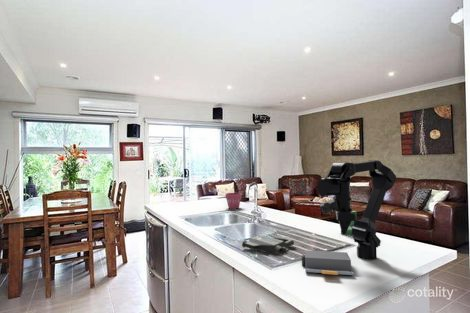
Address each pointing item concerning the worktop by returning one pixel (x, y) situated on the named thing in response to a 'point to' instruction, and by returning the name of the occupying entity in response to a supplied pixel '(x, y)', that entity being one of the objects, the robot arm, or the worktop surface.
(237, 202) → the plant pot
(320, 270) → the door
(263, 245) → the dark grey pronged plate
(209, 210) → the worktop surface
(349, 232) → the coffee box
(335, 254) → the cabinet housing
